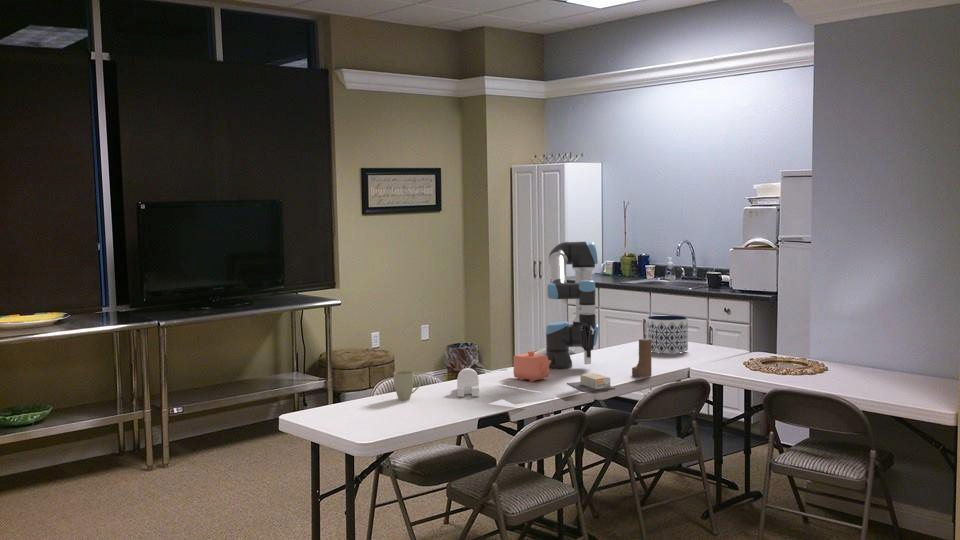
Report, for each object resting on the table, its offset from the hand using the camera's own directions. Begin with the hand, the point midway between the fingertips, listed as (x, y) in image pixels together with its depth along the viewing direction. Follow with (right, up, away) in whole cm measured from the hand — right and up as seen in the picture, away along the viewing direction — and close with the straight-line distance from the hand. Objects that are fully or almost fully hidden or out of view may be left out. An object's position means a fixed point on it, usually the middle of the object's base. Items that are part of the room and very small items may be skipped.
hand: (587, 364), depth 403 cm
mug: (-82, -13, -23) cm, 87 cm away
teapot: (-25, -10, +14) cm, 30 cm away
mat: (+1, -10, -2) cm, 10 cm away
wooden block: (+29, -9, +20) cm, 36 cm away
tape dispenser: (-56, -12, -9) cm, 58 cm away
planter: (+56, -4, +87) cm, 104 cm away
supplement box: (0, -7, +2) cm, 7 cm away
